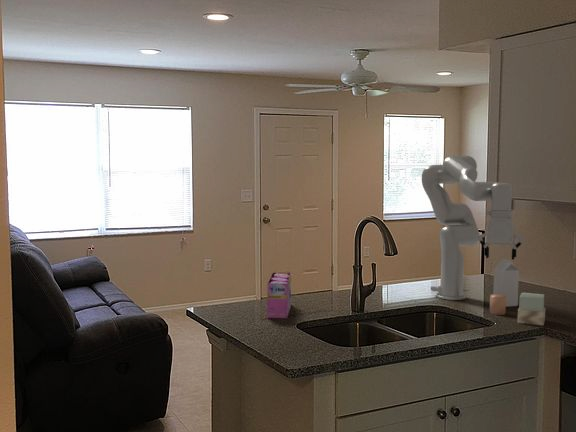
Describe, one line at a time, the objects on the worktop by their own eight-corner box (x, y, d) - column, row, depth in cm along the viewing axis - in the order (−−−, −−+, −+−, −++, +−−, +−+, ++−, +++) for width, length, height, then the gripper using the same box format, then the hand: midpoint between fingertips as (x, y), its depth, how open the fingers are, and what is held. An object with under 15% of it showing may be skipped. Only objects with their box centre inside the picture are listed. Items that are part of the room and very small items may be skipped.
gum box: (272, 303, 274) (272, 271, 273) (291, 304, 274) (291, 272, 272) (266, 318, 250) (266, 282, 249) (287, 318, 250) (287, 283, 249)
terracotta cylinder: (488, 313, 258) (489, 296, 257) (490, 310, 263) (491, 293, 263) (504, 315, 255) (505, 297, 255) (506, 312, 261) (507, 294, 260)
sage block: (519, 309, 245) (519, 296, 244) (521, 305, 252) (521, 292, 251) (542, 312, 241) (542, 298, 241) (543, 307, 248) (544, 294, 248)
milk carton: (502, 307, 269) (504, 261, 267) (492, 303, 276) (494, 258, 274) (517, 306, 271) (519, 260, 269) (507, 302, 278) (509, 257, 276)
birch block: (517, 323, 244) (517, 310, 244) (519, 318, 253) (520, 305, 252) (543, 326, 241) (543, 312, 240) (544, 320, 249) (545, 307, 248)
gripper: (476, 214, 256) (475, 258, 257) (523, 216, 249) (522, 261, 250) (479, 213, 263) (478, 256, 264) (525, 214, 255) (524, 258, 257)
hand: (500, 258), depth 257 cm, fingers open, 9 cm apart
